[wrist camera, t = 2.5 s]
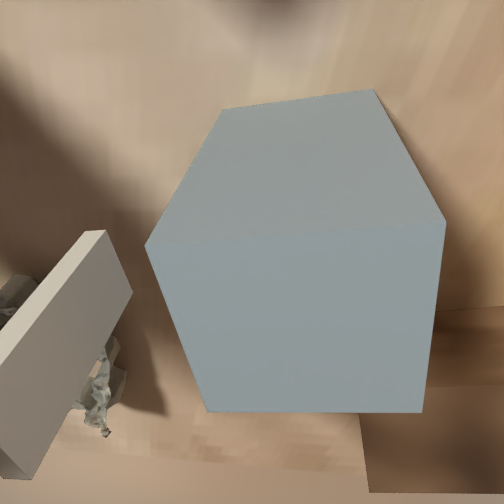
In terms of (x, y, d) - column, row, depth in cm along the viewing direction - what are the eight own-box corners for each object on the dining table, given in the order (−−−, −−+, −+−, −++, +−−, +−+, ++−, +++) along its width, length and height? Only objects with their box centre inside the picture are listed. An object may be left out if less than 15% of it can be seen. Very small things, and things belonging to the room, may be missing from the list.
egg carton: (134, 390, 29) (112, 444, 26) (35, 375, 30) (1, 427, 26) (117, 279, 23) (86, 332, 20) (-8, 262, 23) (-60, 312, 20)
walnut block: (360, 417, 28) (369, 492, 24) (347, 315, 23) (355, 390, 19) (517, 412, 26) (556, 494, 22) (544, 299, 21) (602, 379, 17)
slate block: (247, 231, 20) (207, 412, 12) (222, 109, 17) (143, 245, 8) (371, 221, 19) (421, 412, 11) (372, 88, 15) (446, 221, 7)
